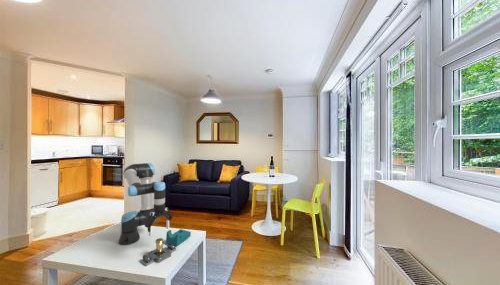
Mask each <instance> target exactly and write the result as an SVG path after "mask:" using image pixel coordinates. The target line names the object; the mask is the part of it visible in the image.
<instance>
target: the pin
mask: <svg viewBox="0 0 500 285" xmlns="http://www.w3.org/2000/svg"><path fill="white" fill-rule="evenodd" d="M163 246H164V238H162V237H161V238H159V237H158V238H157V239H155V247H156V248H155V249H156V255H157V256H159V255H161V254H163Z"/></svg>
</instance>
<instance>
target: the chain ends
mask: <svg viewBox="0 0 500 285" xmlns="http://www.w3.org/2000/svg"><path fill="white" fill-rule="evenodd" d="M176 251H177V247H176V246H175V245H171V244H167V245H166V247H164V248H163V254H161V255H159V256H157V255H156V248H155V249H153V250H151V251H148V252H147V255H146V254H144V255H142V258H141V260H140V263H141V264H142V265H144V266H145V267H147V266H149V265H151V264H154V262H156V263H158V264H159V263H161V262H163V261H165V260H167V259H169V258H170V257H172V253H174V252H176Z"/></svg>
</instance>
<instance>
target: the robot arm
mask: <svg viewBox="0 0 500 285" xmlns="http://www.w3.org/2000/svg"><path fill="white" fill-rule="evenodd" d="M155 173H156V171H155V167H154V164H153V163H152V162H147V163H146V162H145V163H143V162H142V163H133V164H130V165H128V166H126V167H125V169H124V170H123V172H122V174H123V177H124V179H126V181H127V184H128V187H127V194H128V195H127V196H128V197H136V196H140V198H141V199H140V201H141V207H140V209H139V211H137V210H132V211H131V210H130V211H128V212H125V213H124V214H122V216H121V220H120V222H121V226H120V228H121V229H120V236H119V239H118V244H119V245H120V246H122V245H123V246H127V245H128V246H129V245H131V244H134V243H137V242H138V241H139V240H140V233H139V230H138V227H141V226H144V227H145V228H147V232H148V236H149V237H152V236H153V227H152V226H153V225H154V223H155V222H156V220H157V219H158V218H159V217H162V216H163V217H165V218H166V221H165V222H166V227H165V228H166V229H167V230H170V224H171V220H172V219H173V215H172V213H171V212H170V208H169V207H166V183H165V182H164V181H158V182H157V181H152V179H153V178H154V175H155ZM165 212H166V213H165Z"/></svg>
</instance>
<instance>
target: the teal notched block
mask: <svg viewBox="0 0 500 285" xmlns="http://www.w3.org/2000/svg"><path fill="white" fill-rule="evenodd" d="M191 234H192V231H189V230H185V229H183V228H180V229H178V230H176V232H174V233H172V230H171V229H168V231H166V236H165V237H166V238H165V245H166V246H167V244H171V245H173V246H175V247H178V246H180V245H181V243H183V242H184V241H186V240H187V239H188V238H190V237H191Z"/></svg>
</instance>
